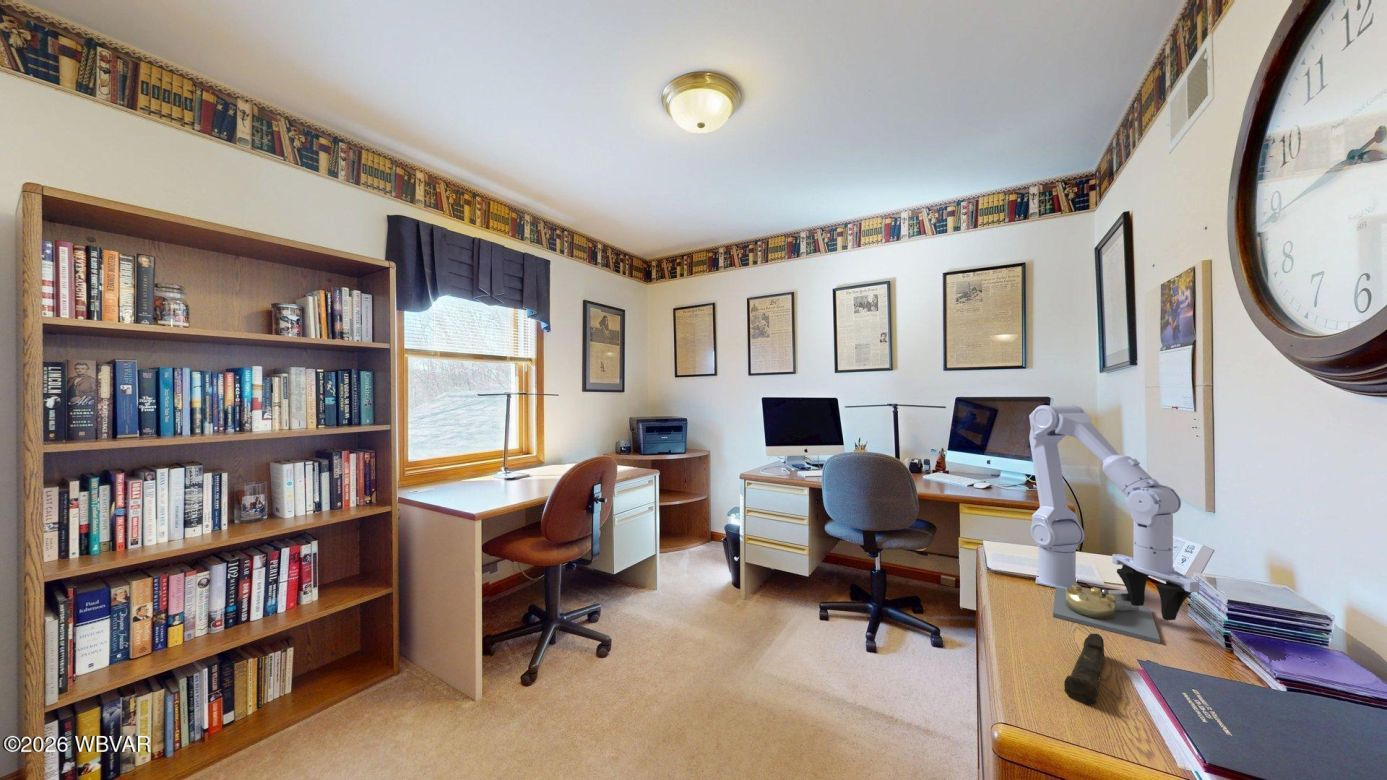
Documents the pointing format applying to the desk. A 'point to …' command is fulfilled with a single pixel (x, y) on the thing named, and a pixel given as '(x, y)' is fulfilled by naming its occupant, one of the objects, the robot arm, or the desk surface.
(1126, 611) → the base plate
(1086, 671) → the dark brown statuette
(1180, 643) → the desk surface
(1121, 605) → the gold rounded piece
